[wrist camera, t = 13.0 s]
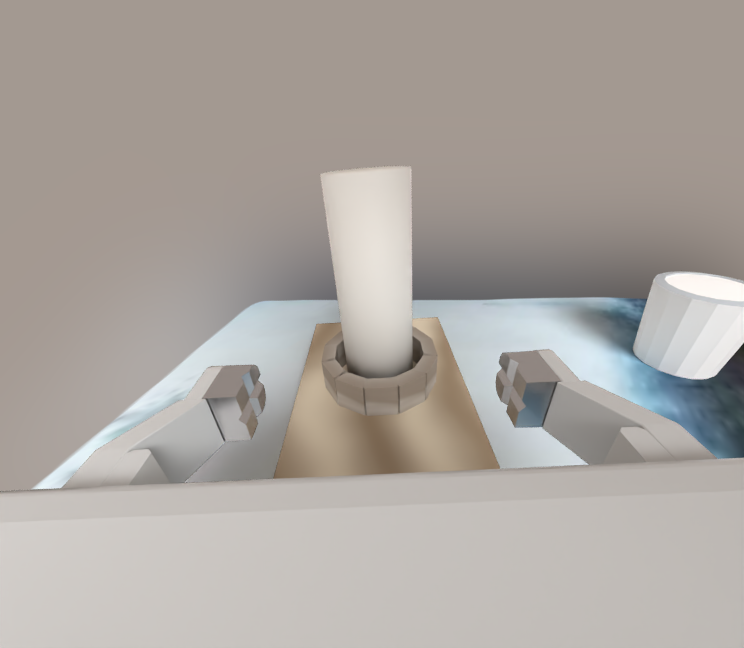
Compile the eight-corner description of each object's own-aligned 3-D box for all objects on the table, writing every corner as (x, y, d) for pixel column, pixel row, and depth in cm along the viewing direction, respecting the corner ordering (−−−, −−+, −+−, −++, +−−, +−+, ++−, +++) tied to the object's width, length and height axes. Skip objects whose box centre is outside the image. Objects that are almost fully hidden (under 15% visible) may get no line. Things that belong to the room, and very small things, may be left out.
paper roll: (408, 354, 27) (405, 164, 20) (416, 394, 23) (417, 169, 15) (350, 358, 27) (325, 170, 20) (347, 399, 23) (313, 177, 15)
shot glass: (645, 378, 25) (684, 302, 22) (612, 334, 31) (638, 268, 27) (751, 389, 24) (812, 308, 20) (695, 341, 29) (735, 271, 26)
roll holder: (436, 329, 34) (438, 296, 32) (497, 487, 18) (509, 442, 16) (318, 335, 34) (313, 303, 32) (277, 498, 18) (261, 454, 16)
